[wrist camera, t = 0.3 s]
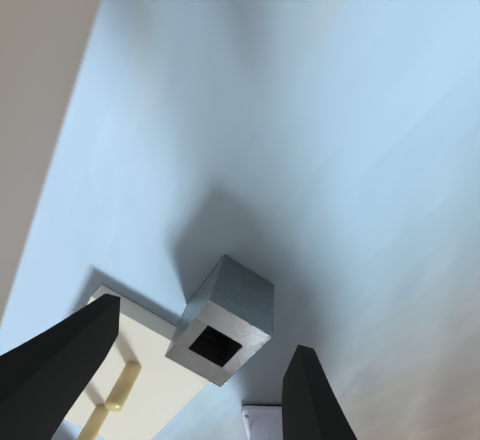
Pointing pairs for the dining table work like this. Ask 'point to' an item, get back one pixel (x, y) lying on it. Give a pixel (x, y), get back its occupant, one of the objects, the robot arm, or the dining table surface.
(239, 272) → the grey hollow block
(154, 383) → the housing base
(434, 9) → the dining table surface
